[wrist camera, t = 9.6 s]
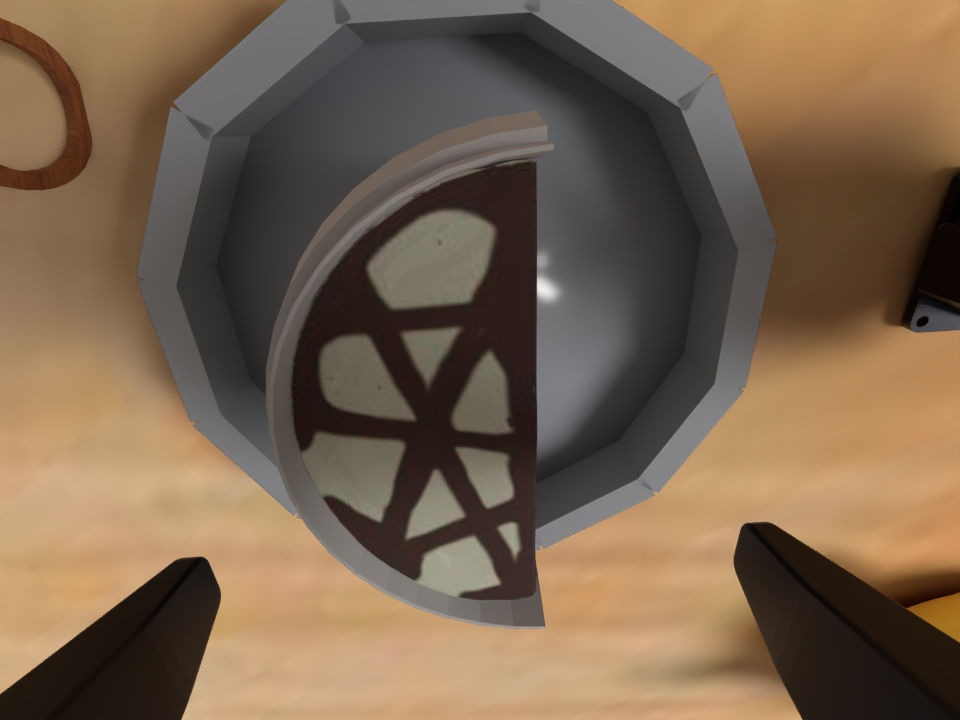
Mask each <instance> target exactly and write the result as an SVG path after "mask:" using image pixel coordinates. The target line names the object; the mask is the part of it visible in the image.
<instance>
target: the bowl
mask: <svg viewBox="0 0 960 720" xmlns="http://www.w3.org/2000/svg"><path fill="white" fill-rule="evenodd" d="M712 70H713V68H712V67H710V66H709V65H707V64H706V63H704V62H703V61H701V60H700V59H698V58H697V57H695V56H694V55H692V54H691V53H689V52H688V51H687V50H685V49H684V48H682V47H681V46H679V45H678V44H676V43H675V42H673V41H672V40H670V39H669V38H667V37H666V36H664V35H663V34H661V33H660V32H658V31H657V30H655V29H654V28H652V27H651V26H650V25H648V24H647V23H645V22H644V21H642V20H641V19H639V18H638V17H636V16H635V15H633V14H632V13H630V12H629V11H627V10H626V9H624V8H623V7H621V6H620V5H618V4H617V3H616V2H614V1H613V0H287V1H285V2H284V3H283V4H282V5H281V6H280V7H279V8H278V9H276V10H275V11H274V12H273V13H272V14H271V15H270V16H269V17H268V18H266V19H265V20H264V21H263V22H262V23H261V24H260V25H259V26H257V27H256V28H255V29H254V30H253V31H252V32H251V33H250V34H249V35H247V36H246V37H245V38H244V39H243V40H242V41H241V42H240V43H238V44H237V45H236V46H235V47H234V48H233V49H232V50H231V51H230V52H228V53H227V54H226V55H225V56H224V57H223V58H222V59H221V60H219V61H218V62H217V63H216V64H215V65H214V66H213V67H212V68H211V69H209V70H208V71H207V72H206V73H205V74H204V75H203V76H202V77H201V78H199V79H198V80H197V81H196V82H195V83H194V84H193V85H192V86H190V87H189V88H188V89H187V90H186V91H185V92H184V93H183V94H182V95H180V96H179V97H178V98H177V99H176V100H175V101H174V104H175V105H176V106H177V107H178V108H175V107H170V111H169V116H168V121H167V126H166V131H165V136H164V141H163V146H162V151H161V156H160V161H159V166H158V171H157V176H156V181H155V186H154V191H153V196H152V201H151V206H150V211H149V216H148V221H147V225H146V230H145V235H144V240H143V245H142V250H141V255H140V260H139V265H138V270H137V275H136V277H139V278H141V280H139V281H137V283H138V286H139V289H140V291H141V294H142V296H143V299H144V302H145V304H146V307H147V310H148V312H149V315H150V317H151V320H152V323H153V325H154V328H155V330H156V333H157V336H158V338H159V341H160V344H161V346H162V349H163V351H164V354H165V357H166V359H167V362H168V365H169V367H170V370H171V372H172V375H173V378H174V380H175V383H176V385H177V388H178V391H179V393H180V396H181V399H182V401H183V404H184V406H185V409H186V412H187V414H188V417H189V420H190V422H196V421H197V422H196V423H195V424H194V425H193V426H194V427H195V428H196V429H197V430H199V431H200V432H201V433H202V434H203V435H204V436H205V437H206V438H208V439H209V440H210V441H211V442H212V443H213V444H214V445H215V446H216V447H218V448H219V449H220V450H221V451H222V452H223V453H224V454H225V455H226V456H228V457H229V458H230V459H231V460H232V461H233V462H234V463H235V464H236V465H238V466H239V467H240V468H241V469H242V470H243V471H244V472H245V473H246V474H248V475H249V476H250V477H251V478H252V479H253V480H254V481H255V482H256V483H258V484H259V485H260V486H261V487H262V488H263V489H264V490H265V491H267V492H268V493H269V494H270V495H271V496H272V497H273V498H274V499H275V500H277V501H278V502H279V503H280V504H281V505H282V506H283V507H284V508H285V509H287V510H288V511H289V512H290V513H291V514H292V515H295V514H296V513H298V511H297V509H296V508H295V506H294V505H293V503H292V501H291V500H290V498H289V496H288V493H287V491H286V488H285V486H284V483H283V481H282V478H281V476H280V473H279V471H278V468H277V466H276V462H275V457H274V452H273V447H272V442H271V437H270V432H269V421H268V415H267V410H266V365H267V360H268V355H269V349H270V344H271V339H272V334H273V328H274V325H275V322H276V320H277V317H278V314H279V311H280V309H281V306H282V303H283V301H284V298H285V295H286V293H287V290H288V288H289V285H290V283H291V280H292V277H293V275H294V272H295V270H296V267H297V265H298V262H299V260H300V259H301V257H302V255H303V254H304V252H305V250H306V249H307V247H308V246H309V244H310V242H311V241H312V239H313V237H314V236H315V234H316V233H317V231H318V229H319V228H320V226H321V225H322V223H323V222H324V221H325V220H326V219H327V218H328V217H329V215H330V214H331V213H332V212H333V211H334V210H335V209H336V208H337V206H338V205H339V204H340V203H341V202H342V201H343V200H344V199H345V198H346V196H347V195H348V194H349V193H350V192H351V191H352V190H353V189H354V188H355V187H356V186H358V185H359V184H360V183H361V182H363V181H364V180H365V179H367V178H368V177H369V176H370V175H372V174H373V173H374V172H376V171H377V170H378V169H379V168H381V167H382V166H383V165H385V164H386V163H387V162H388V161H390V160H391V159H392V158H394V157H396V156H398V155H400V154H402V153H403V152H405V151H407V150H409V149H411V148H413V147H415V146H417V145H418V144H420V143H422V142H424V141H426V140H428V139H430V138H432V137H433V136H435V135H437V134H440V133H443V132H446V131H449V130H452V129H455V128H458V127H462V126H465V125H468V124H471V123H474V122H477V121H480V120H483V119H486V118H491V117H497V116H504V115H510V114H517V113H523V112H530V111H537V112H538V114H539V115H540V116H541V118H542V119H543V120H544V122H545V123H546V125H547V141H548V142H551V143H553V144H554V150H552V151H550V152H549V153H547V154H545V155H543V156H542V157H540V158H538V159H536V160H537V466H536V531H535V550H540V545H541V546H542V547H543V548H547V547H549V546H551V545H553V544H555V543H557V542H559V541H561V540H563V539H565V538H567V537H569V536H571V535H574V534H576V533H578V532H580V531H582V530H584V529H586V528H588V527H590V526H592V525H594V524H596V523H598V522H601V521H603V520H605V519H607V518H609V517H611V516H613V515H615V514H617V513H619V512H621V511H623V510H625V509H628V508H630V507H632V506H634V505H636V504H638V503H640V502H642V501H644V500H646V499H648V498H650V497H652V496H655V494H654V492H653V491H655V492H658V493H659V491H660V490H661V489H662V488H663V487H664V485H665V484H666V483H667V482H668V481H669V480H670V478H671V477H672V476H673V475H674V474H675V472H676V471H677V470H678V469H679V468H680V466H681V465H682V464H683V463H684V462H685V461H686V459H687V458H688V457H689V456H690V455H691V453H692V452H693V451H694V450H695V449H696V447H697V446H698V445H699V444H700V443H701V442H702V440H703V439H704V438H705V437H706V436H707V434H708V433H709V432H710V431H711V430H712V428H713V427H714V426H715V425H716V424H717V422H718V421H719V420H720V419H721V418H722V417H723V415H724V414H725V413H726V412H727V411H728V409H729V408H730V407H731V406H732V405H733V403H734V402H735V401H736V400H737V399H738V398H739V396H740V395H741V394H742V393H743V392H744V391H743V390H742V389H741V388H746V383H747V379H748V374H749V370H750V365H751V360H752V356H753V351H754V346H755V342H756V337H757V332H758V328H759V323H760V318H761V314H762V309H763V305H764V300H765V295H766V291H767V286H768V281H769V277H770V272H771V267H772V263H773V258H774V254H775V249H776V244H777V242H776V241H773V240H772V239H774V238H776V237H777V236H776V233H775V231H774V228H773V225H772V222H771V220H770V217H769V214H768V212H767V209H766V206H765V203H764V201H763V198H762V195H761V192H760V190H759V187H758V184H757V182H756V179H755V176H754V173H753V171H752V168H751V165H750V162H749V160H748V157H747V154H746V152H745V149H744V146H743V143H742V141H741V138H740V135H739V132H738V130H737V127H736V124H735V122H734V119H733V116H732V113H731V111H730V108H729V105H728V103H727V100H726V97H725V94H724V92H723V89H722V86H721V83H720V81H719V78H718V75H717V73H716V74H712V75H710V73H711V71H712ZM297 518H300V519H302V518H301V516H300V514H299V513H298V515H297Z"/></svg>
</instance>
